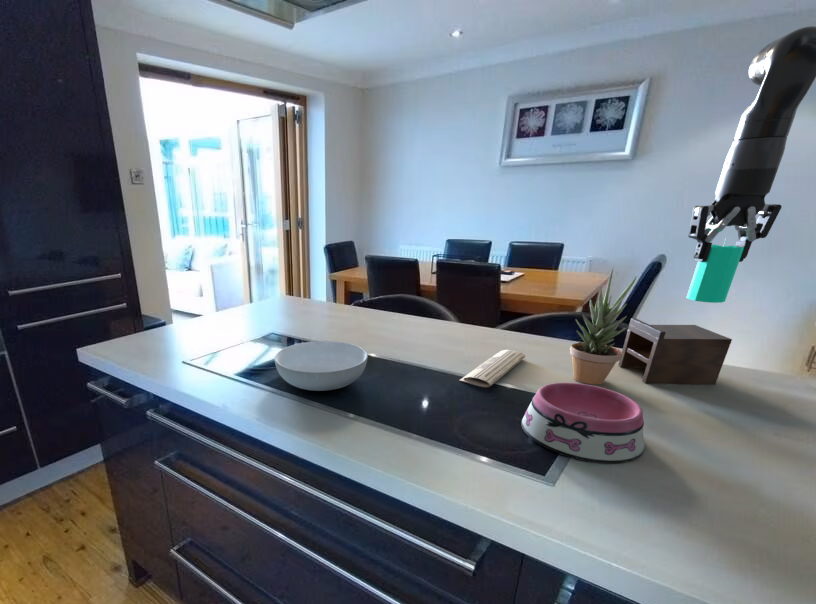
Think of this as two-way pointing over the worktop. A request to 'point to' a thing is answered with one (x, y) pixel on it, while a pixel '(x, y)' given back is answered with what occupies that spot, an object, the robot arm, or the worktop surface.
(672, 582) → the worktop surface
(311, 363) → the serving bowl
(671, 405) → the worktop surface
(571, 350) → the potted plant
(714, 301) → the candle
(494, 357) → the newspaper
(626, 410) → the dog bowl
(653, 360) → the shelf
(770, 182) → the robot arm
